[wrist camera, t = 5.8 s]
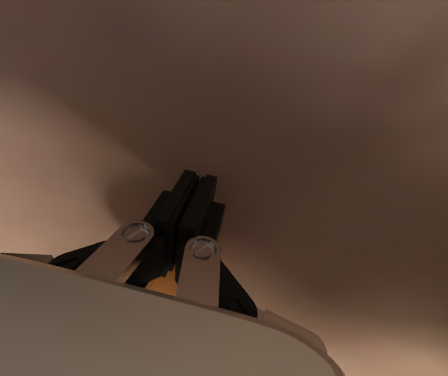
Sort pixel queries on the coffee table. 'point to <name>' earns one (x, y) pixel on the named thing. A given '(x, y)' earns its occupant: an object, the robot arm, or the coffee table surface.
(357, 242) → the coffee table surface
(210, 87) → the coffee table surface
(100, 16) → the coffee table surface
